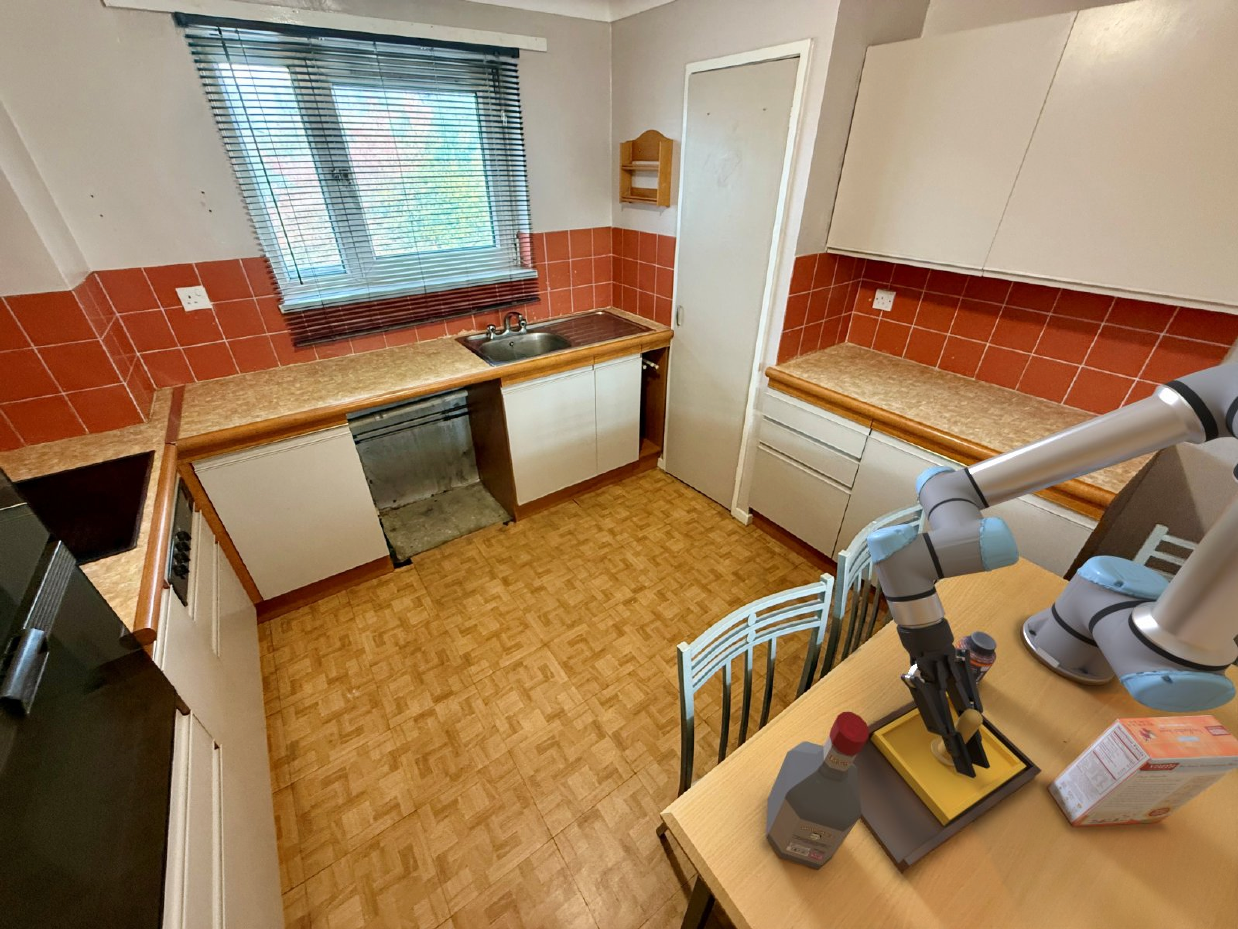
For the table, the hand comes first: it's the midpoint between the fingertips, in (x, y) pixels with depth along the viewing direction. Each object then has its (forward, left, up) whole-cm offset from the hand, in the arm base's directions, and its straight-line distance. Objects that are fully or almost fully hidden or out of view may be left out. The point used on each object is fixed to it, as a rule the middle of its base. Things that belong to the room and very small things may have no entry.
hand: (973, 769), depth 79 cm
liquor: (+29, -6, -5) cm, 30 cm away
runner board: (+4, -4, -5) cm, 7 cm away
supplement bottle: (-17, -13, -5) cm, 22 cm away
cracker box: (-17, +11, -5) cm, 21 cm away
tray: (0, -4, -3) cm, 5 cm away
